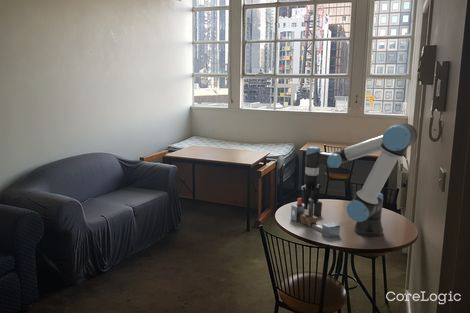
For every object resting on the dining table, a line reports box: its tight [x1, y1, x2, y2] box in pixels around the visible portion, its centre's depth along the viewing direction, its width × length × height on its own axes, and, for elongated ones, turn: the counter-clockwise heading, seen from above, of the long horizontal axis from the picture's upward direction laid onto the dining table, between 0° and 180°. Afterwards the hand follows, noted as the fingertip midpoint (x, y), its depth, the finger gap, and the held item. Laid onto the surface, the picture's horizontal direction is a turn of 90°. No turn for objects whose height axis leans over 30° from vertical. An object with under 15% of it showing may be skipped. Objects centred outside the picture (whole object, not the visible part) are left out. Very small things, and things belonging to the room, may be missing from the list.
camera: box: [303, 197, 323, 218], centre depth 255 cm, size 14×11×10 cm
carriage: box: [300, 197, 318, 228], centre depth 233 cm, size 8×6×15 cm
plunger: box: [296, 197, 302, 206], centre depth 240 cm, size 3×3×4 cm
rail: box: [290, 203, 341, 239], centre depth 229 cm, size 32×8×9 cm, turn 30°
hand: (309, 213), depth 233 cm, fingers closed on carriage, 3 cm apart
